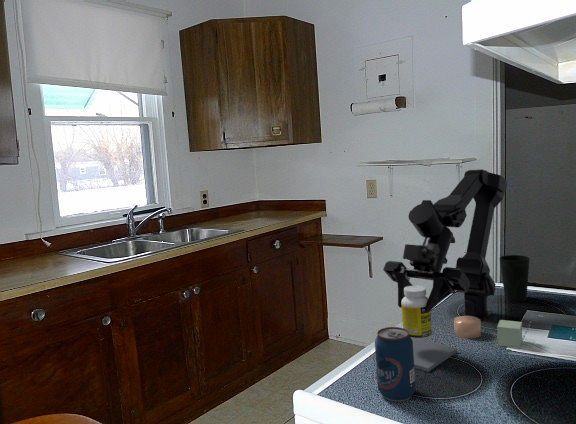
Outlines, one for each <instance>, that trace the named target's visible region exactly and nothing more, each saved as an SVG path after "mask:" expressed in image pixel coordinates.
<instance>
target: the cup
mask: <svg viewBox="0 0 576 424" xmlns="http://www.w3.org/2000/svg"><path fill="white" fill-rule="evenodd" d="M499 264H500V271H501V278H502V279H501V280H502V285H503V286H502V287H503V292H504V300H506V301H507V302H513V303H521V302H526V301H527V300H528V299H527V297H528V287H529V286H528V282H529V271H530V257H528V256H525V255H521V254H509V255H507V254H506V255H502V256H500V257H499Z"/></svg>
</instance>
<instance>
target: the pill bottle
mask: <svg viewBox="0 0 576 424" xmlns="http://www.w3.org/2000/svg"><path fill="white" fill-rule="evenodd" d="M412 285H413V284H412ZM404 295H405V297H404V298H403V299H402V301H401V307H402V308H401V318H402V328H404V329H406V330H407V331H408V332H409V336H410V337H411V339H412V341H428V340H430V339H431V338H432V336H433V327H432V325H433V324H432V310H431V311H430V312H429V313H426V311H425V308H426V304H427V301H428V298H429V297H428V296H426V295H427V288H426V287H425V286H422V285H418V284H417V285H415V284H414V285H413V286H407V287H405V288H404Z"/></svg>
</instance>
